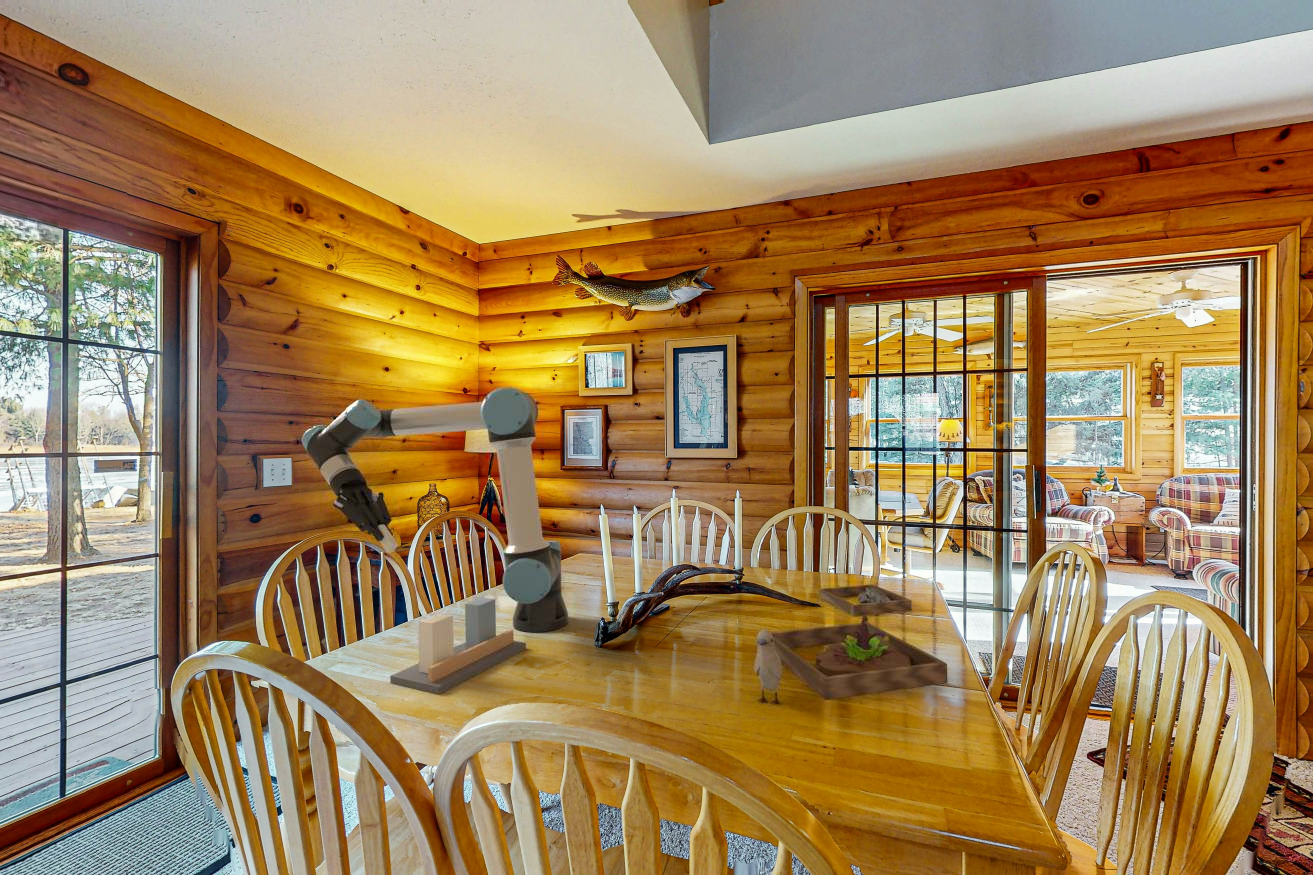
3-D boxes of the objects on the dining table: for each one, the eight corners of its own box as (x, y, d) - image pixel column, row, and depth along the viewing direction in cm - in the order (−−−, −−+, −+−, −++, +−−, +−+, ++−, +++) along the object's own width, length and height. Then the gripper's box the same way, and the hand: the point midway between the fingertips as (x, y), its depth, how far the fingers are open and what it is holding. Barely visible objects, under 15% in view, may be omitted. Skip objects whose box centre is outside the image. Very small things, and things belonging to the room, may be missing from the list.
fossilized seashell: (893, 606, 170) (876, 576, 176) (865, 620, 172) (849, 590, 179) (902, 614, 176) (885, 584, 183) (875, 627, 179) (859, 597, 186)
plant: (920, 662, 135) (920, 613, 134) (904, 695, 118) (903, 639, 118) (832, 646, 145) (831, 600, 145) (805, 674, 129) (805, 623, 129)
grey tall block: (465, 649, 141) (465, 603, 141) (483, 641, 147) (482, 597, 147) (478, 652, 140) (478, 605, 140) (496, 643, 145) (495, 599, 145)
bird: (748, 715, 110) (747, 634, 110) (763, 686, 122) (762, 613, 122) (775, 720, 108) (774, 637, 108) (787, 689, 121) (786, 616, 120)
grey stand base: (390, 682, 127) (390, 661, 127) (482, 640, 152) (481, 623, 152) (439, 694, 121) (438, 672, 121) (526, 648, 146) (525, 630, 146)
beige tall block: (419, 671, 129) (418, 620, 129) (440, 661, 134) (439, 613, 134) (432, 674, 127) (432, 623, 127) (453, 664, 132) (452, 615, 132)
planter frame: (867, 637, 150) (867, 622, 150) (947, 682, 123) (947, 663, 123) (764, 649, 143) (764, 632, 143) (825, 699, 116) (825, 679, 116)
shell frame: (872, 593, 191) (872, 584, 191) (911, 610, 172) (911, 600, 172) (818, 598, 186) (818, 588, 186) (853, 616, 168) (853, 605, 167)
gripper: (360, 485, 155) (407, 554, 148) (312, 490, 143) (361, 564, 136) (373, 465, 152) (422, 534, 145) (326, 468, 141) (376, 543, 134)
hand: (392, 548), depth 141 cm, fingers closed
